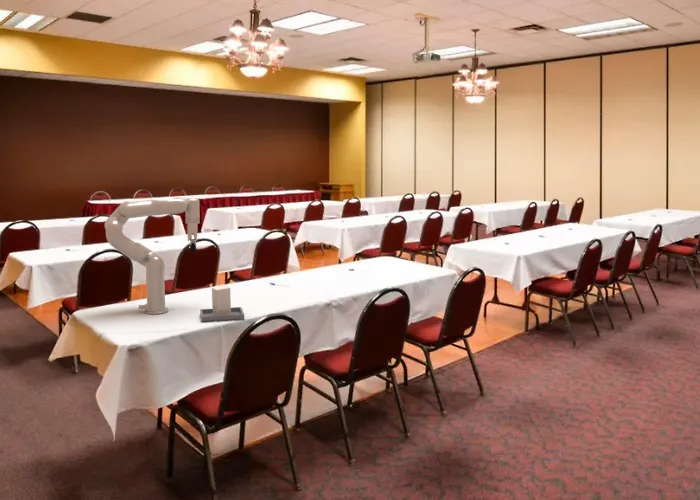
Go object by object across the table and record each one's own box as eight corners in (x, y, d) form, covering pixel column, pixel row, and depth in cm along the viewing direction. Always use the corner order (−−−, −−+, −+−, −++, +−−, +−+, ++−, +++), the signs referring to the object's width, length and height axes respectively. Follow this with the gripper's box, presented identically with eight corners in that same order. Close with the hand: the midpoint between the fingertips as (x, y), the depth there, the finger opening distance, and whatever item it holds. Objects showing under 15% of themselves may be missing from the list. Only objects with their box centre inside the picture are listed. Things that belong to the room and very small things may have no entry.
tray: (201, 322, 320) (201, 316, 319) (200, 314, 335) (200, 309, 334) (244, 319, 326) (244, 314, 325) (241, 312, 341) (240, 306, 340)
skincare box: (226, 313, 335) (225, 285, 333) (231, 316, 330) (231, 287, 327) (211, 315, 330) (211, 287, 328) (217, 318, 325) (216, 289, 322)
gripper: (185, 218, 349) (186, 248, 351) (185, 222, 332) (185, 253, 335) (199, 218, 350) (199, 248, 353) (199, 222, 334) (200, 253, 336)
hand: (193, 251), depth 344 cm, fingers open, 9 cm apart
